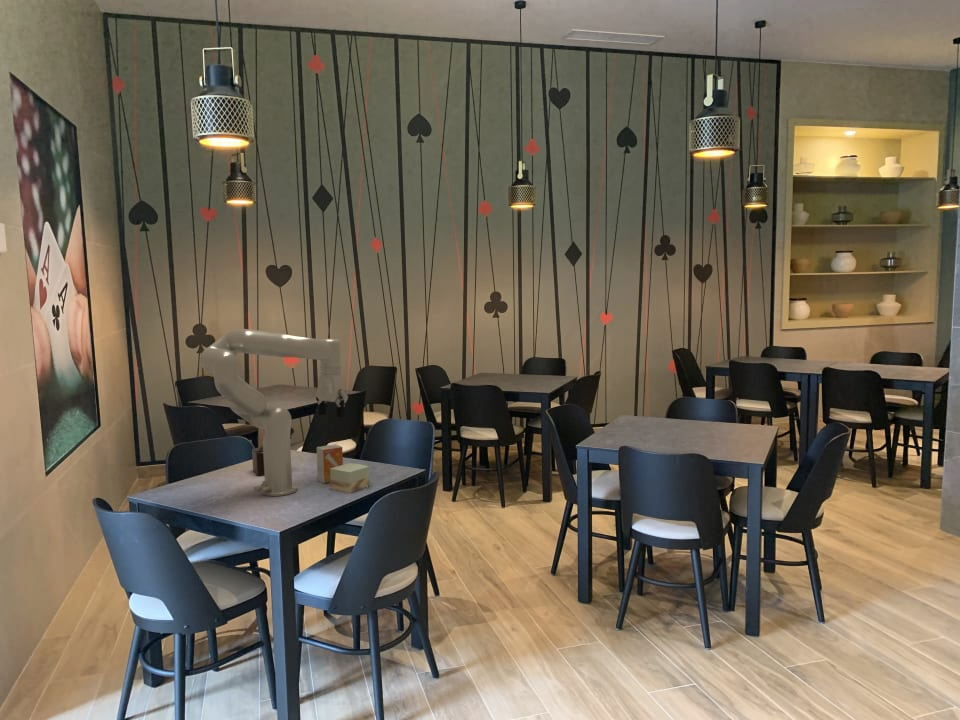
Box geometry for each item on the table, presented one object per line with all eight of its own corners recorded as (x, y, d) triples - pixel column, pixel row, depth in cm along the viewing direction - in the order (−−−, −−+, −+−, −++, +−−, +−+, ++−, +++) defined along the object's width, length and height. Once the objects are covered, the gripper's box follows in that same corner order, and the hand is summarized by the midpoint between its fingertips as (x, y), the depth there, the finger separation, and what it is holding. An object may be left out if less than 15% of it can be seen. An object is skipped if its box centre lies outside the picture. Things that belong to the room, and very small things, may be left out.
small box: (324, 483, 276) (322, 449, 275) (317, 480, 281) (315, 446, 280) (344, 480, 281) (342, 446, 279) (337, 476, 286) (335, 443, 284)
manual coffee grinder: (258, 477, 288) (255, 431, 286) (252, 471, 298) (249, 427, 296) (297, 471, 295) (295, 427, 293) (290, 465, 305) (288, 423, 303)
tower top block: (350, 483, 263) (349, 472, 262) (330, 479, 268) (330, 468, 268) (369, 476, 271) (369, 466, 270) (350, 473, 276) (349, 462, 276)
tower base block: (349, 494, 263) (349, 483, 263) (330, 489, 269) (330, 479, 269) (369, 487, 271) (369, 476, 271) (350, 483, 277) (350, 473, 277)
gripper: (307, 370, 281) (308, 415, 282) (339, 373, 271) (339, 419, 272) (322, 369, 287) (323, 412, 288) (353, 371, 277) (354, 416, 278)
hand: (331, 415), depth 280 cm, fingers open, 9 cm apart
